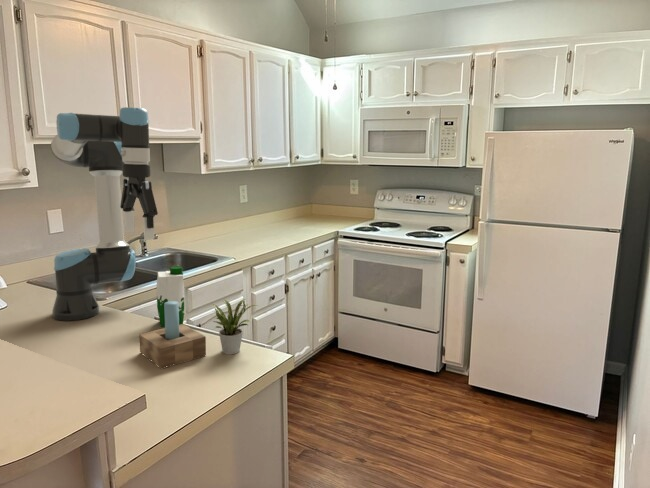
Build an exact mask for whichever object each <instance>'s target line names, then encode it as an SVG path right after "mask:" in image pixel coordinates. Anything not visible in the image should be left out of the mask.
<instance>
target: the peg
mask: <svg viewBox="0 0 650 488" xmlns="http://www.w3.org/2000/svg"><path fill="white" fill-rule="evenodd" d="M164 311H165V327H164V328H165V339H166V340H172V339H175V338H179V303H178V302H177V301H168V302H165V303H164Z"/></svg>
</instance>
